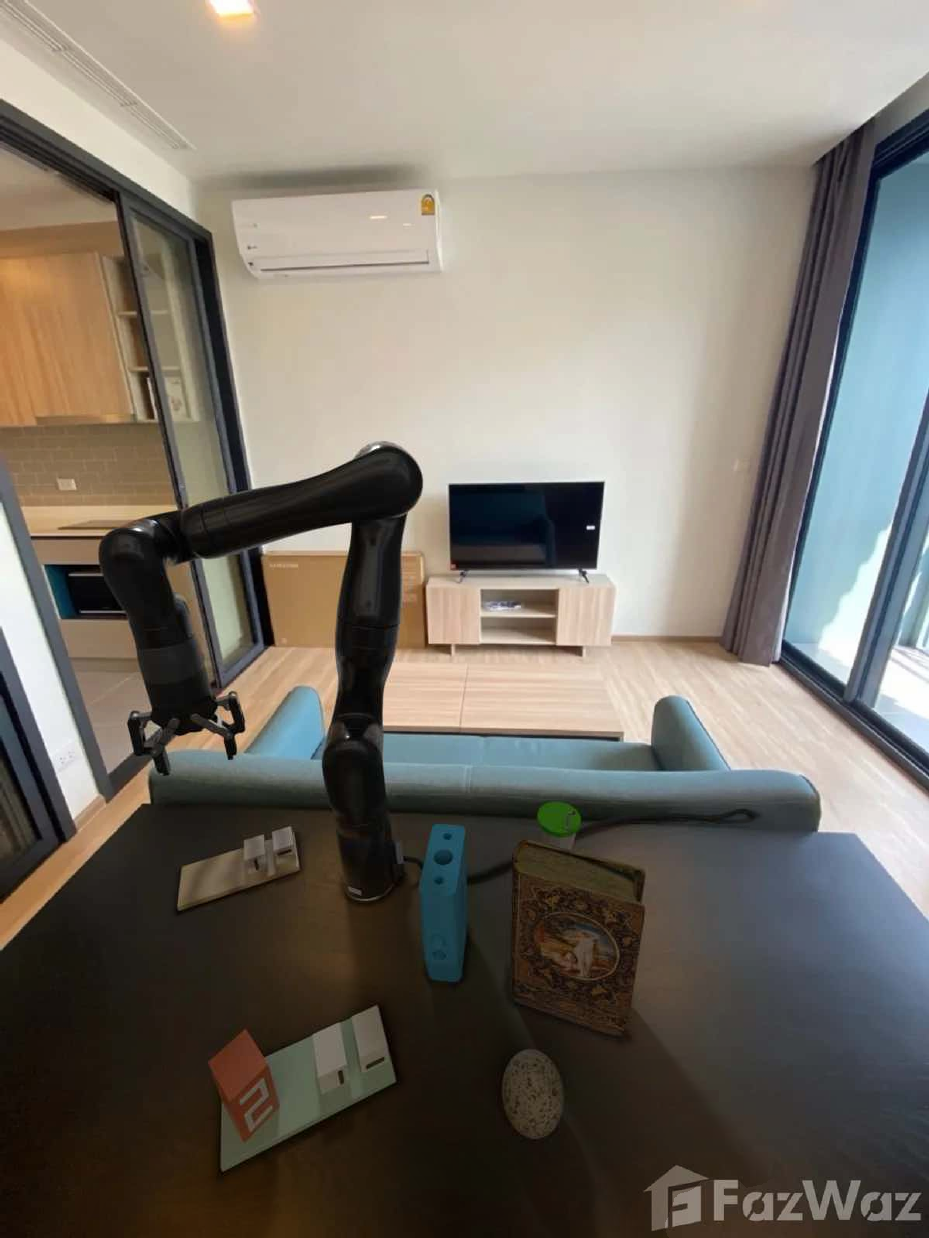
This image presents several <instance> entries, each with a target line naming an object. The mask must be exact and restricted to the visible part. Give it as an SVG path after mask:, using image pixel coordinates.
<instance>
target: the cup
mask: <svg viewBox="0 0 929 1238" xmlns="http://www.w3.org/2000/svg"><path fill="white" fill-rule="evenodd" d="M536 821H537V823H538V825H539V830H540V831H539V832H540V839H541V843H545V844H549V845H553V846H557V847H561V848H565V849H569V850H573V846H574V842H575V839H576V836H577V835H576V832H577V831H579V829H580V828H581V822H582V816H581V814H580V813H579V811H578V809H577V808H575V807H574V806H573V805H571V804H569V803H566V802H562V801H558V800H556V801H549V802H546V803H544V804H543V805H541V806H540V807H539V809H538V811H537V815H536Z"/></svg>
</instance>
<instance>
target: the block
mask: <svg viewBox="0 0 929 1238" xmlns="http://www.w3.org/2000/svg"><path fill="white" fill-rule="evenodd" d="M430 832H431V833H430V836H429V840H428V846H427V850H426V853H425V857H424V862H423V864H424V866H423V870H421V875H420V879H419V885H418V897H419V910H420V912H419V913H420V924H421V937H422V948H423V958H424V959H423V960H424V962H425V967H426V970H427V974H428V977H429V978H430V980H432V981H441V982H450V983H457V982H459V981H460V980H461V978H462V973H463V965H464V960H465V959H464V958H465V950H466V943H467V941H466V940H467V928H468V927H467V919H468V917H467V914H468V913H467V912H468V886H467V885H468V883H467V882H468V880H467V879H466V874H467V850H466V849H467V846H466V845H467V843H466V828H465V827H464V826H463V825H459V824H458V825H457V824H445V823H437V824H434V825H433V826H432V828H431V831H430Z"/></svg>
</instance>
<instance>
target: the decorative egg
mask: <svg viewBox="0 0 929 1238" xmlns="http://www.w3.org/2000/svg"><path fill="white" fill-rule="evenodd" d="M564 1093H565V1092H564V1085H563V1082H562V1078H561V1075H560V1073H559V1069H558V1068H557V1066H556V1065H555V1064H554V1062H553V1061H552V1060H551V1058H549V1056H548V1055H546V1054H545V1053H544V1052H542V1051H540V1050H537V1049H534V1048H533V1049H532V1048H529V1049H523V1050H521V1051H520V1052H517V1054H515V1055H514V1056H513V1057H512V1058H511V1060H510V1061H509V1062H508V1064H507V1065H506V1068H505V1071H504V1073H503V1077H502V1083H501V1099H502V1104H503V1105H502V1106H503V1108H504V1112H505V1114H506V1117H507V1119H508V1120H509V1122H510V1124H511V1125H512V1127H513V1128H514V1129H515V1130H516V1131H517V1132H518V1133H519V1134H520V1135H522V1136H523V1137H526V1138H528V1139H533V1140H538V1139H542V1138H545V1137H547V1136H548V1135H550V1134H551V1133H552V1132H553V1131H554V1130H555V1129H556V1127H557V1126H558V1125H559V1122H560V1120H561V1118H562V1114H563V1110H564V1104H565V1094H564Z"/></svg>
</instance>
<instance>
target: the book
mask: <svg viewBox="0 0 929 1238" xmlns="http://www.w3.org/2000/svg"><path fill="white" fill-rule="evenodd" d="M511 859H512V865H511V882H510V883H511V884H510V885H511V886H510V887H511V889H510V934H509V978H508V979H509V980H508V983H509V984H508V988H509V994H510V997H511V999H512V1000H513V1002H516V1003H519V1004H522V1005H524V1006H527V1007H530V1008H533V1009H536V1010H538V1011H541V1012H544V1013H546V1014H547V1013H548V1014H551V1015H553V1016H555V1017H559V1018H562V1019H565V1020H567V1021H569V1022H573V1023H576V1024H578V1025H582V1026H585V1027H588V1028H589V1029H593V1030H596V1031H599V1032H602V1033H605V1034H608V1035H611V1036H614V1037H617V1038H623V1037H625V1036H626V1033H627V1031H628V1026H629V1020H630V1013H631V1006H632V1000H633V994H634V988H635V980H636V975H637V968H638V963H639V962H638V961H639V957H640V956H639V955H640V949H641V942H642V937H643V930H644V925H645V916H646V907H645V905H644V904H643V896H644V889H645V882H646V870H645V869H644V868H643V867H642V866H637V865H633V864H629V863H625V862H620V861H616V860H613V859H609V858H605V857H601V856H598V855H597V856H596V855H593V854H589V853H586V852H585V853H584V852H581V851H577V850H573V849H572V850H569V849H565V848H561V847H557V846H553V845H549V844H545V843H542V842H540V841H537V840H532V839H524V840H522V841H520V842H518V843H517V844H516V845H515V847H514V849H513V851H512V855H511Z"/></svg>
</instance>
